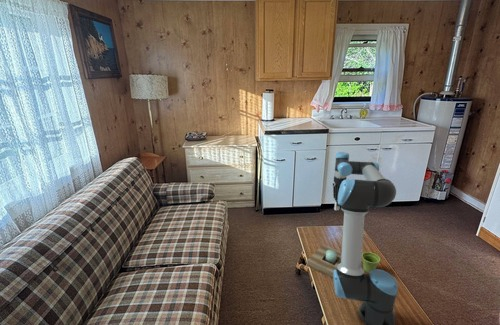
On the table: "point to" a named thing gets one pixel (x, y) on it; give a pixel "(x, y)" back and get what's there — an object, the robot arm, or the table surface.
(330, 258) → the pale mint egg
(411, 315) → the table surface
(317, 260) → the dock
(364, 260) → the plant pot
